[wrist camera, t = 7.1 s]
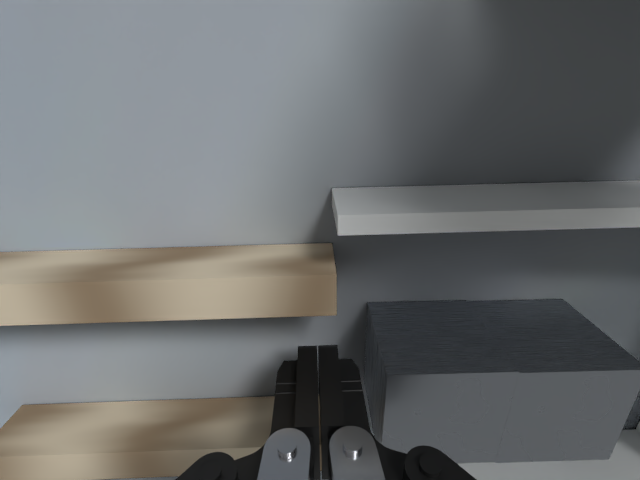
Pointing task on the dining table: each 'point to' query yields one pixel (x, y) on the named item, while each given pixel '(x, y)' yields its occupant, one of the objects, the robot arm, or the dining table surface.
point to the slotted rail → (151, 305)
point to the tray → (504, 215)
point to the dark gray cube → (560, 381)
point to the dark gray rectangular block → (436, 379)
